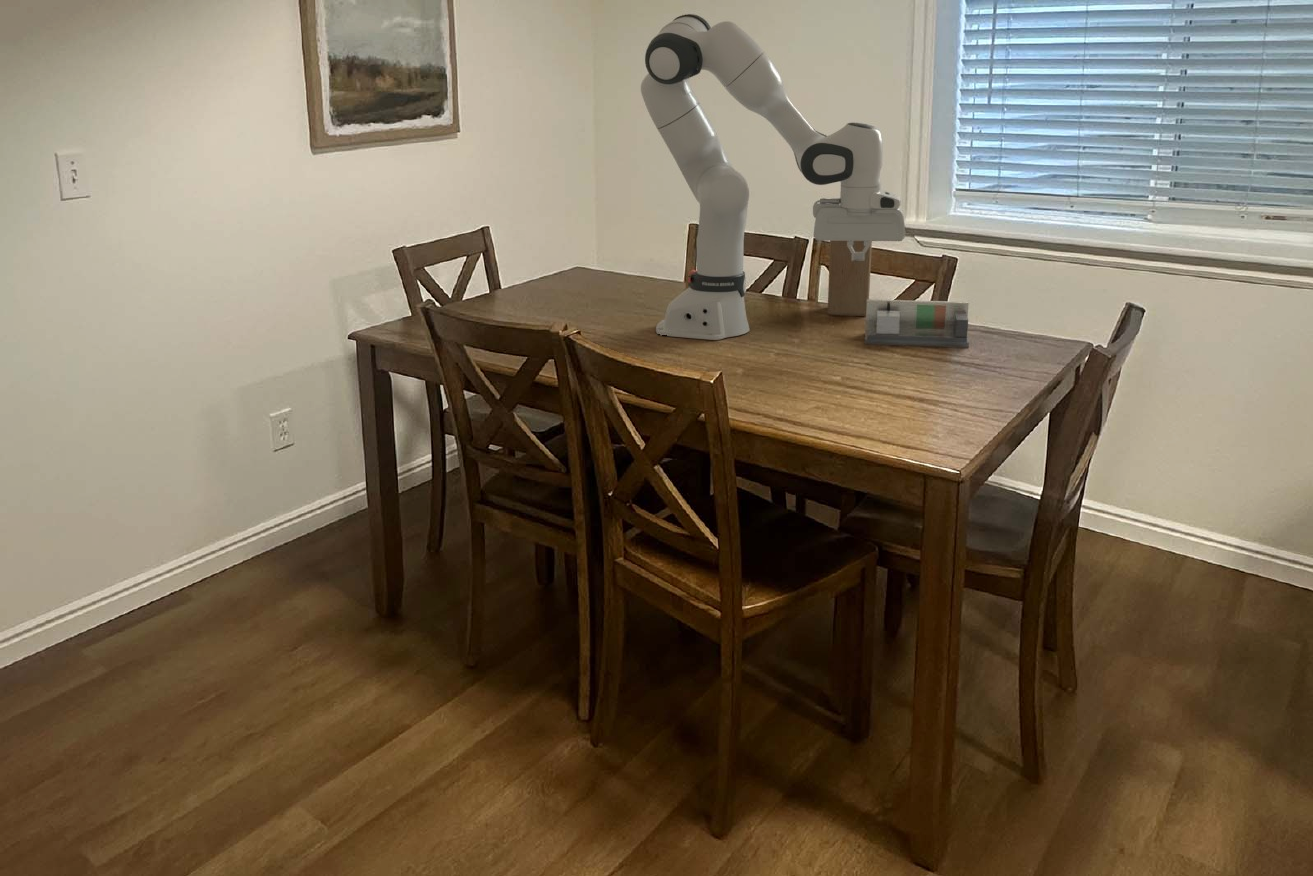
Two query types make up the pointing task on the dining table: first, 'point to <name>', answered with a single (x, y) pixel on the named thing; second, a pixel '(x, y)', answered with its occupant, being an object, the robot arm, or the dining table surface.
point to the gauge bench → (921, 323)
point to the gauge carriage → (888, 322)
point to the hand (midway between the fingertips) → (858, 260)
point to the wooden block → (848, 279)
